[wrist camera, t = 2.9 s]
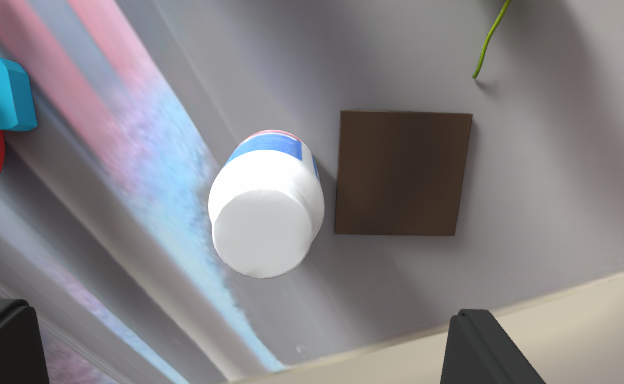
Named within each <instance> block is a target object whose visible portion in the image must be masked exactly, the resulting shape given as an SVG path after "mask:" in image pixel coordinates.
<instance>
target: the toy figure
mask: <svg viewBox="0 0 624 384" xmlns="http://www.w3.org/2000/svg"><path fill="white" fill-rule="evenodd" d="M37 126H38V125H37V120H36V115H35V109H34V104H33V99H32V93H31V88H30V83H29V78H28V74H27V73H26V72H25V71H24V69H23V68H22V67H21V66H20V65H19V64H18V63H15V62H12V61H9V60H6V59H3V58H0V173H1V170H2V166H3V162H4V155H5V141H4V131H3V130H12V131H30V130H31V129H33V128H35V127H37Z"/></svg>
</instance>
